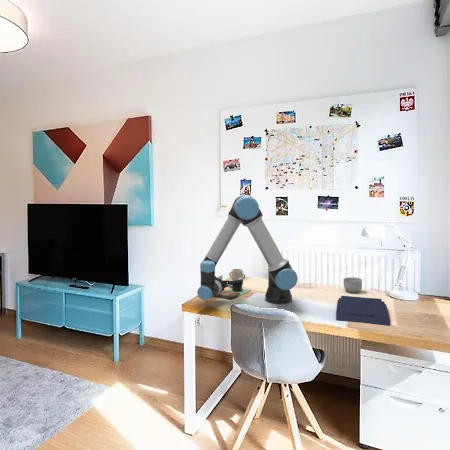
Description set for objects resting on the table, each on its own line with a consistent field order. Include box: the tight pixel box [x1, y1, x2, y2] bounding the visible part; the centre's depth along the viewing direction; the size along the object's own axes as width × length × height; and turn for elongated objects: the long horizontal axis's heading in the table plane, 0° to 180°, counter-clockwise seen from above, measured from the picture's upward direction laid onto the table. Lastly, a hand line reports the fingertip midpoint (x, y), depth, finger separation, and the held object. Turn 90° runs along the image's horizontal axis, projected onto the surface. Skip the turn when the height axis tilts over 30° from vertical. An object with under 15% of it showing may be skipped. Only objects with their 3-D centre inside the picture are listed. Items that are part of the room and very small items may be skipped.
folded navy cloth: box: [335, 295, 391, 326], centre depth 185 cm, size 24×30×4 cm
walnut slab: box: [214, 289, 241, 300], centre depth 216 cm, size 16×9×2 cm, turn 55°
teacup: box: [342, 276, 363, 294], centre depth 225 cm, size 14×11×8 cm
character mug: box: [228, 268, 246, 291], centre depth 225 cm, size 11×7×13 cm, turn 61°
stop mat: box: [225, 287, 252, 296], centre depth 225 cm, size 13×12×1 cm
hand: (232, 278), depth 218 cm, fingers open, 13 cm apart
